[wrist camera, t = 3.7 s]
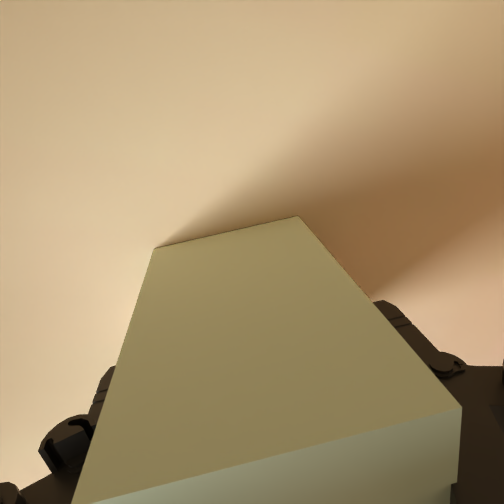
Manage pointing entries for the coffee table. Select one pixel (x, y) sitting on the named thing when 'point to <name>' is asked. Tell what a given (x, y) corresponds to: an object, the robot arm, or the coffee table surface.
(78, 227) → the coffee table surface
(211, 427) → the sage block
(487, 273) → the coffee table surface
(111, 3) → the coffee table surface
